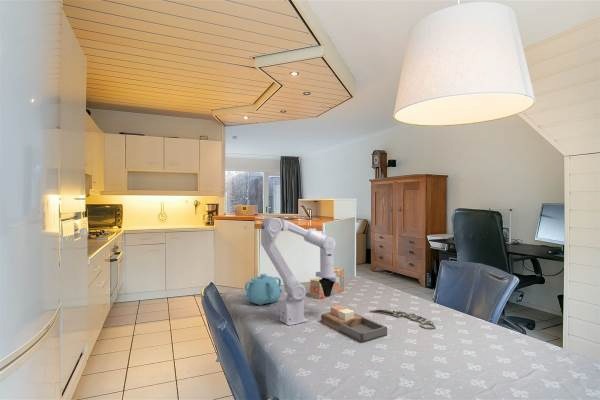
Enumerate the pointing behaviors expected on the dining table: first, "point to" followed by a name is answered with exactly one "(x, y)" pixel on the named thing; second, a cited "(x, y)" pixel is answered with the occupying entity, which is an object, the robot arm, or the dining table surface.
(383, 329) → the gray box
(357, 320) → the wooden square board
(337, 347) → the dining table surface
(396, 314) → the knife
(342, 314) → the cream tile
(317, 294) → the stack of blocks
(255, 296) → the decorative pot
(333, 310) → the salmon cube
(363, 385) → the dining table surface
